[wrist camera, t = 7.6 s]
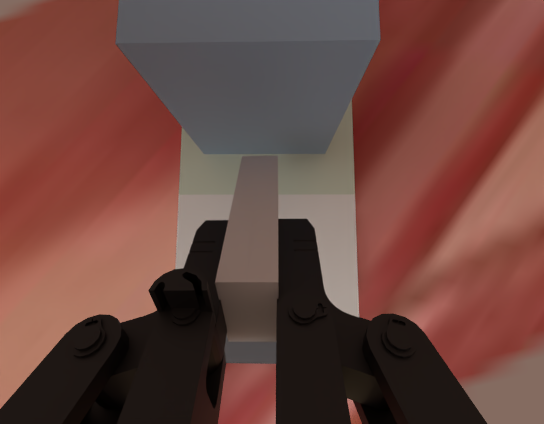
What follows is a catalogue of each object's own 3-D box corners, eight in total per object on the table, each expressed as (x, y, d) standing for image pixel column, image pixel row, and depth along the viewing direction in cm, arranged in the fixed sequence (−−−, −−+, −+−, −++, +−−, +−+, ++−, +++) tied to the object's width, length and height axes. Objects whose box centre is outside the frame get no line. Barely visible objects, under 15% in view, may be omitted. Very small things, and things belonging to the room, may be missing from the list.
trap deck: (188, 359, 18) (170, 381, 15) (200, 36, 21) (187, 1, 18) (347, 361, 18) (361, 384, 15) (338, 34, 21) (348, -2, 18)
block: (204, 154, 16) (115, 43, 8) (207, 58, 17) (130, -144, 8) (325, 153, 16) (380, 39, 7) (323, 57, 17) (371, -152, 8)
